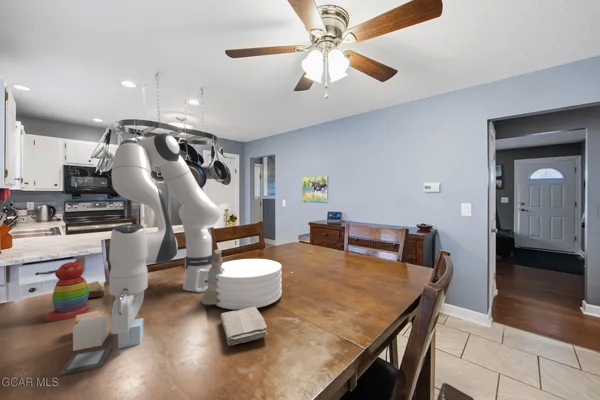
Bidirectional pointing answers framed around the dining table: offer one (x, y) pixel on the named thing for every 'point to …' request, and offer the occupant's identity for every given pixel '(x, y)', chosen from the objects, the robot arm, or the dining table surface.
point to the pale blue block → (134, 334)
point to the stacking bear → (69, 293)
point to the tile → (85, 361)
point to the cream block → (90, 332)
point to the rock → (95, 289)
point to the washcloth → (243, 325)
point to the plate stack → (249, 283)
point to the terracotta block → (85, 316)
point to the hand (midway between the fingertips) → (129, 333)
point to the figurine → (213, 279)
